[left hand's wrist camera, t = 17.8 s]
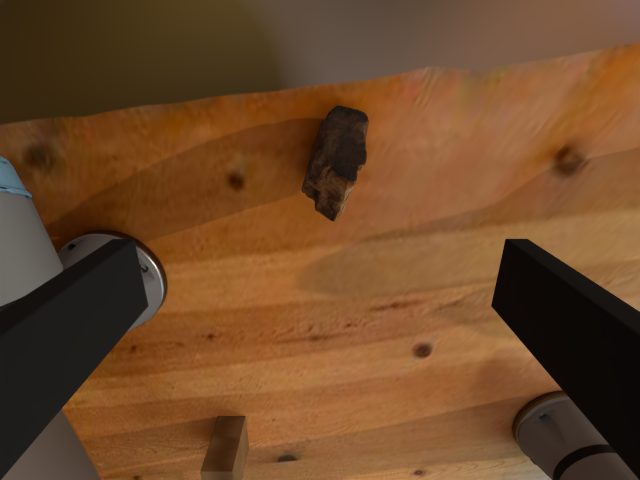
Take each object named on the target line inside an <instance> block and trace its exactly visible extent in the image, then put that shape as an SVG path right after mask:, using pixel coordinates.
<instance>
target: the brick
mask: <svg viewBox="0 0 640 480" xmlns="http://www.w3.org/2000/svg"><path fill="white" fill-rule="evenodd" d="M248 449H249V444H248V434H247V425H246V416H218V419H217V422H216V425H215V428H214V432H213V435H212V438H211V441H210V444H209V447H208V450H207V453H206V456H205V459H204V462H203V466H202V469H201V477H202V480H242V478H243V473H244V468H245V463H246V458H247V453H248Z"/></svg>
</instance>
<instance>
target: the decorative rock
mask: <svg viewBox="0 0 640 480" xmlns="http://www.w3.org/2000/svg"><path fill="white" fill-rule="evenodd" d="M368 124H369V120H368V117H367V115H366V114H365V113H363V112H361V111H359V110H356V109H351V108H347V107H343V106H336V107H335V108H334V109H332V110H331V112H329V114H328V115H327V117H326V119H325V120H324V121H323V122H322V123H321V125H320V128H319V132H318V135H317V138H316V141H315V142H314V145H313V147H312V152H311V156H310V160H309V164H308V167H307V171H306V175H305V179H304V182H303V186H302V192H303V193H305V194H306V195H307V197H309V198H311V199H313V200H314V201H315V210H316V211H317V212H320V213H321V214H322V215H324V216H325V217H326V218H328V219H329V220H331V221H333V222H335V221H337V220H338V218H339V216H340V215H341V213H342V212H343V211H344V208H345V205H346V201H347V200H348V198H349V195H350V191H351V190H352V189H353V187H354V185H355V184H356V180H357V173H358V172H359V171H360V170H361V169H362V168H364V167H365V163H366V159H367V152H366V149H365V148H366V134H367V128H368Z"/></svg>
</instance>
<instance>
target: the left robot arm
mask: <svg viewBox="0 0 640 480" xmlns="http://www.w3.org/2000/svg"><path fill="white" fill-rule="evenodd" d="M31 198H33V197H32V195H31V194H30V193H29V192H28V191H26V189H25V187H24V186H23V184H22V182H21V180H20V178H19V177H18V175H17V173H16V171H15V169H14V167H13V166H12V164H11V163H10V162H9V161H8V160H7V159H5V158H4V157H2V156H0V480H1V479H2V478H3V477H4V475H5V474H6V473H7V472H8V471H9V470H10V469H11V467H12V466H13V465H14V464H15V463H16V461H17V460H18V459H19V458H20V457H21V456H22V454H23V453H24V452H25V451H26V450H27V448H28V447H29V446H30V445H31V444H32V443H33V441H34V440H35V439H36V438H37V437H38V435H39V434H40V433H41V432H42V431H43V430H44V429H45V427H46V426H47V425H48V424H49V423H50V421H51V420H52V419H53V418H54V417H55V416H56V414H57V413H58V412H59V411H60V410H61V409H62V407H63V406H64V405H65V404H66V403H67V401H68V400H69V399H70V398H71V397H72V396H73V394H74V393H75V392H76V391H77V390H78V389H79V387H80V386H81V385H82V384H83V383H84V381H85V380H86V379H87V378H88V377H89V376H90V374H91V373H92V372H93V371H94V370H95V369H96V367H97V366H98V365H99V364H100V363H101V361H102V360H103V359H104V358H105V357H106V356H107V354H108V353H109V352H110V351H111V350H112V349H113V347H114V346H115V345H116V344H117V343H118V341H119V340H120V339H121V338H122V337H123V336H124V334H125V333H126V332H128V331H130V330H132V329H133V328H135V327H137V326H140V325H142V324H143V323H145V322H147V321H148V320H150V319H151V318H152V317H153V316H154V315H155V314H156V312H157V311H158V310H159V308H160V307H161V306H162V304H163V302H164V300H165V298H166V294H167V279H166V275H165V271H164V269H163V267H162V265H161V263H160V262H159V260H158V259H157V257H156V256H155V255H154V254H153V253H152V252H151V250H149V249H148V248H147V247H146V246H145V245H143V244H142V243H141V242H139V241H138V240H136V239H134V238H132V237H130V236H127V235H125V234H122V233H118V232H113V231H93V232H89V233H86V234H83V235H81V236H79V237H77V238H75V239H74V240H72V241H70V242H69V243H67V244H66V245H65V246H64V247H63V248H62V249H61V250H60V251H59V253H58V254H57V253H56V251H55V249H54V246H53V244H52V242H51V240H50V238H49V236H48V234H47V232H46V229H45V227H44V225H43V223H42V221H41V219H40V217H39V215H38V213H37V210H36V208H35V206H34V204H33V202H32V200H31ZM491 306H492V307H493V309H494V310H495V311H496V312H497V313H498V314H499V316H500V317H501V318H502V319H503V320H504V321H505V323H506V324H507V325H508V326H509V327H510V329H511V330H512V331H513V332H514V333H515V334H516V336H517V337H518V338H519V339H520V340H521V341H522V343H523V344H524V345H525V346H526V347H527V349H528V350H529V351H530V352H531V353H532V354H533V356H534V357H535V358H536V359H537V360H538V361H539V363H540V364H541V365H542V366H543V367H544V369H545V370H546V371H547V372H548V373H549V374H550V376H551V377H552V378H553V379H554V380H555V381H556V383H557V384H558V385H559V386H560V387H561V389H562V390H563V391H564V392H565V393H566V394H567V396H568V397H569V398H570V399H571V400H572V401H573V403H574V404H575V405H576V406H577V407H578V409H579V410H580V411H581V412H582V413H583V414H584V416H585V417H586V418H587V419H588V420H589V421H590V423H591V424H592V425H593V426H594V427H595V429H596V430H597V431H598V432H599V433H600V434H601V436H602V437H603V438H604V439H605V440H606V441H607V443H608V444H609V445H610V446H611V447H612V449H613V450H614V451H615V452H616V453H617V454H618V456H619V457H620V458H621V459H622V460H623V461H624V463H625V464H626V465H627V466H628V467H629V469H630V470H631V471H632V472H633V473H634V474H635V476H636V477H637V478H638V479H639V480H640V312H639V311H638V310H636V309H635V308H633V307H631V306H630V305H628V304H627V303H625V302H624V301H622V300H621V299H619V298H618V297H616V296H614V295H613V294H611V293H610V292H608V291H607V290H605V289H604V288H602V287H601V286H599V285H598V284H596V283H594V282H593V281H591V280H590V279H588V278H587V277H585V276H584V275H582V274H581V273H579V272H578V271H576V270H574V269H573V268H571V267H570V266H568V265H567V264H565V263H564V262H562V261H561V260H559V259H557V258H556V257H554V256H553V255H551V254H550V253H548V252H547V251H545V250H544V249H542V248H541V247H539V246H537V245H536V244H534V243H533V242H531V241H530V240H528V239H506V240H505V245H504V249H503V254H502V259H501V263H500V268H499V273H498V277H497V282H496V287H495V291H494V296H493V301H492V305H491Z"/></svg>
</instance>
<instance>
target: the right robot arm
mask: <svg viewBox="0 0 640 480" xmlns="http://www.w3.org/2000/svg"><path fill="white" fill-rule="evenodd" d="M513 435H514V438H515V440H516V441H517V443H518V445H519V447H520V448H521V450H522V451H523V452H524V453H525V454H526V455H527V456H528V457H529V458H530V460H531V461H532V462H533V463H534V464H536V465H538V466H539V467H540V468H541V469H542V470H543V471H544V472H545V473H546V474H547V475H548V476H549V477H550V478H551V479H552V480H639V479H638V478H637V477H636V476H635V474H634V473H633V472H632V471H631V470H630V469H629V467H628V466H627V465H626V464H625V463H624V461H623V460H622V459H621V458H620V457H619V456H618V454H617V453H616V452H615V451H614V450H613V449H612V447H611V446H610V445H609V444H608V443H607V441H606V440H605V439H604V438H603V437H602V436H601V434H600V433H599V432H598V431H597V430H596V429H595V427H594V426H593V425H592V424H591V423H590V421H589V420H588V419H587V418H586V417H585V416H584V414H583V413H582V412H581V411H580V410H579V409H578V407H577V406H576V405H575V404H574V403H573V401H572V400H571V399H570V398H569V397H568V396H567V394H566V393H565V392H564V391H560V392H554V393H550V394H547V395H544V396H542V397H539V398H537V399H536V400H534V401H532V402H531V403H529V404H528V405H527V406H526V407H524V408H523V409H522V410H521V412H520V413H519V414H518V416H517V417H516V419H515V422H514V425H513Z"/></svg>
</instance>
